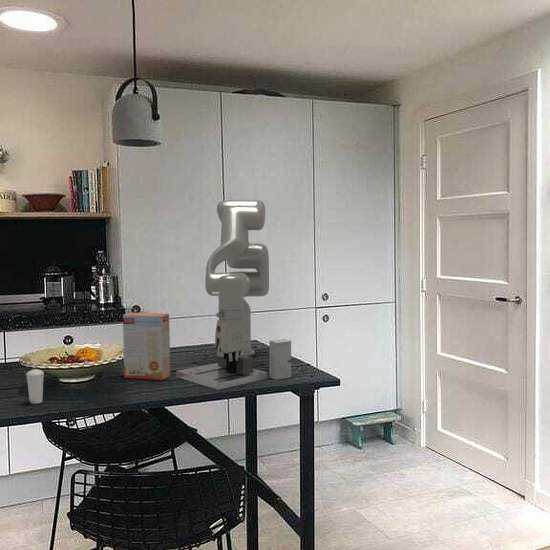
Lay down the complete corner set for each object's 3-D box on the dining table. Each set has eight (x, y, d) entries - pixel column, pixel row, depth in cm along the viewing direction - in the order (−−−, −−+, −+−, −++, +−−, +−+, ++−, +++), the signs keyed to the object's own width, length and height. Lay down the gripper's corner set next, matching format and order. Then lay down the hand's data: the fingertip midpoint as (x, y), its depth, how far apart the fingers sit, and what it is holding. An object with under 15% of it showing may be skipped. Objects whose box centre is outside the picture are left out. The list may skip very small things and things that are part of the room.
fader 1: (218, 366, 205) (217, 351, 204) (227, 364, 207) (227, 349, 207) (227, 368, 201) (227, 353, 200) (236, 366, 204) (236, 351, 203)
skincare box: (276, 380, 195) (276, 342, 194) (268, 377, 199) (268, 340, 198) (292, 377, 199) (292, 340, 198) (284, 374, 202) (284, 338, 201)
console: (176, 377, 200) (175, 370, 200) (224, 367, 213) (224, 361, 213) (217, 389, 184) (217, 382, 184) (267, 378, 197) (267, 372, 197)
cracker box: (171, 376, 200) (170, 313, 199) (162, 381, 194) (161, 315, 193) (133, 373, 204) (131, 311, 203) (123, 378, 199) (122, 313, 197)
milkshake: (22, 401, 172) (21, 366, 171) (42, 399, 175) (41, 364, 174) (25, 405, 168) (24, 369, 167) (46, 402, 171) (45, 367, 170)
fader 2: (233, 372, 196) (232, 356, 196) (242, 370, 199) (242, 354, 198) (243, 374, 192) (243, 358, 192) (252, 372, 195) (252, 356, 195)
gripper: (219, 318, 183) (219, 379, 185) (256, 313, 193) (257, 371, 195) (204, 316, 189) (204, 374, 190) (241, 311, 199) (242, 367, 200)
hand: (231, 372), depth 192 cm, fingers closed
